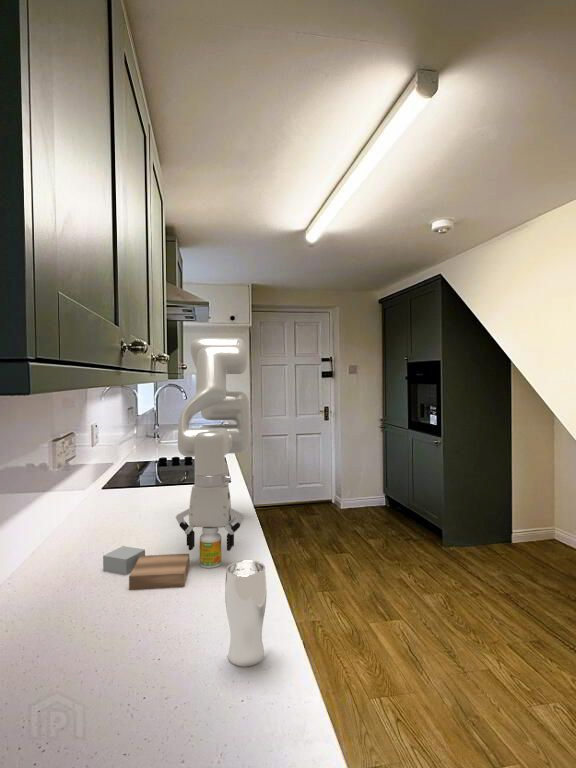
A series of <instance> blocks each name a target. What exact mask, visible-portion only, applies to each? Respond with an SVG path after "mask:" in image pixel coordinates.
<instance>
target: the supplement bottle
mask: <svg viewBox="0 0 576 768" xmlns="http://www.w3.org/2000/svg"><path fill="white" fill-rule="evenodd" d="M201 528H202V533H201V534H200V536H199V565H200V567H201V568H204V569H213V568H218V567H219V566H221V564H222V535H221V534H220V533H219V527H201Z"/></svg>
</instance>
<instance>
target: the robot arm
mask: <svg viewBox="0 0 576 768" xmlns="http://www.w3.org/2000/svg"><path fill="white" fill-rule="evenodd" d="M246 346H247V345H246V343H245V340H243V339H242V338H239V337H200V338H195V339H193V340H192V341H191V343H190V347H189V349H190V355H191V358H192V362H193V364H194V366H195V369H196V385H195V393H194V395H193V396H192V397H191V398H190V399H189V400H188V401H187V402H186V404H185V405H184V407H183V408H182V410H181V412H180V414H179V419H178V428H177V429H178V430H177V448H178V451H179V454H181V456H182V457H183V456H184V457H193V458H194V484H193V485H192V486H191V491H190V497H189V498H190V499H189V508H187V509H186V510H183V511H181V512H180V513H178V514H176V516H175V519H176V521H177V523H178V524H179V528H181V529H182V530H183V531H184V534H185V535H186V547H188V551H192V550H193V549H194V547H195V541H196V540H195V539H196V538H195V533H196V532H195V530H194V528H202V527H218V528H224V529H225V530H226V531H227V534H226V551H227V552H230V551H231V549H232V548H233V547H234V546H235V533H236V531H237V530H239V528H240V527H241V525H242V523H243V522H244V519H245V515H244V514H243V513H240V511H238V510H235V509H234V508H232V501H231V492H230V487H229V482H231V480H232V479H231V476H230V475H229V465H228V464H227V462H226V458H225V457H226V455H228V454H242V453H243V454H244V453H246V452H248V451H249V449H250V444H251V426H250V425H251V424H250V422H251V421H250V419H251V418H250V401H249V398H248V397H249V396H248V395H247V394H246V393H245V392H243V391H240V390H234V391H228V389H227V375H241V374H244V373H245V371H246V369H247V365H248V355H247V354H248V353H247V347H246ZM199 412H200V415H201V417H202V419H204V420H205V421H206V420H207V421H234V422H235V423H236V424H233V423H232V424H206V425H203V426H201V427H191V428H190V422H191V420H192V419H193V417H194V416H195V415H197V414H198V413H199ZM185 517H188V522H189V524H188V523H187V522H186V521H185V519H184V518H185ZM234 519H237V520H236V522H235V523H234V524H233V522H234Z"/></svg>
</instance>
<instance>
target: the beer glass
mask: <svg viewBox="0 0 576 768" xmlns="http://www.w3.org/2000/svg"><path fill="white" fill-rule="evenodd" d="M225 568H226V569H225V572H226V573H225V584H224V585H225V586H224V599H225V600H224V601H225V610H226V614H227V619H228V620H227V621H228V626H229V632H230V642H229V649H228V655H227V656H228V660H229V662H230V663H231V664H232V665H234V666H237V667H241V668H242V667H243V668H245V667H253V666H256V665H258V664H259V663H261V662H262V661H263V659H264V658H265V649H264V642H263V627H264V618H265V613H266V607H267V606H266V605H267V578H266V577H267V576H266V565H265V564H264V563H262V562H261V561H257V560H252V559H250V560H249V559H248V560H238V561H234V562H232V563H230V564H228V565H227V566H226V567H225Z"/></svg>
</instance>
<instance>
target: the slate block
mask: <svg viewBox="0 0 576 768" xmlns="http://www.w3.org/2000/svg"><path fill="white" fill-rule="evenodd" d="M140 556H146V549H143V548H139V547H137V548H136V547H132V546H126V545H125V546H124V545H122V546H120V547H118V548H116V549H114V550H112V551H110V552H107V553H106V554H104V555H103V556H102V567H103V568H102V570H103V572H107V573H110V574H113V573H114V574H118V575H122V576H123V575H124V576H129V575H130V574H131V572H132V570H133V568H134V566H135V565H136V563H137V561H138V559H139V557H140Z"/></svg>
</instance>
